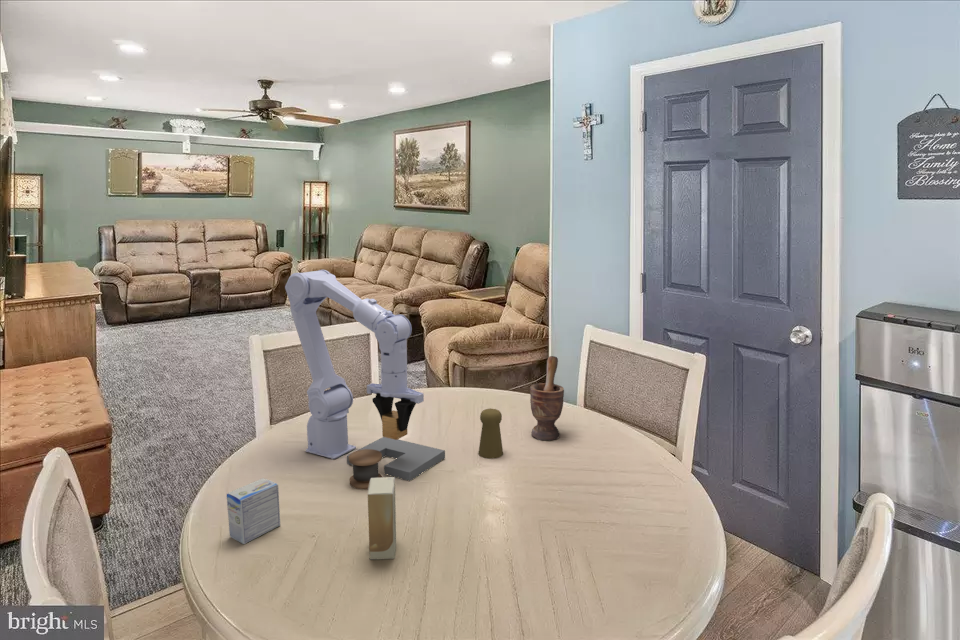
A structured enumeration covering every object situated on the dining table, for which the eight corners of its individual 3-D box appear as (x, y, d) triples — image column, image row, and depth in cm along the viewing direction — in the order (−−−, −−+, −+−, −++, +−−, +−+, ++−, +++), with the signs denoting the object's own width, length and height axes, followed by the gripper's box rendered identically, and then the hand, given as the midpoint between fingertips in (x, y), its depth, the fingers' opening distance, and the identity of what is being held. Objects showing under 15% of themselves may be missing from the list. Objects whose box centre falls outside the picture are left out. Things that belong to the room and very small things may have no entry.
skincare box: (372, 540, 107) (370, 476, 105) (396, 539, 108) (395, 475, 105) (368, 561, 101) (366, 493, 99) (394, 560, 101) (393, 492, 99)
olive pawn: (501, 459, 142) (501, 415, 140) (475, 457, 143) (476, 413, 141) (505, 449, 148) (505, 407, 146) (480, 447, 149) (481, 405, 147)
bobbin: (342, 484, 129) (341, 458, 128) (364, 472, 135) (363, 446, 134) (368, 491, 126) (367, 464, 124) (389, 479, 132) (388, 453, 130)
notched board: (346, 463, 139) (346, 455, 139) (385, 443, 151) (384, 436, 151) (409, 481, 131) (409, 472, 130) (444, 458, 143) (444, 450, 142)
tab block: (382, 436, 136) (382, 415, 135) (393, 430, 139) (393, 410, 138) (396, 440, 134) (396, 418, 133) (407, 434, 137) (407, 413, 136)
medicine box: (266, 519, 114) (263, 476, 113) (281, 526, 112) (278, 483, 110) (229, 537, 108) (225, 492, 106) (244, 545, 106) (240, 499, 104)
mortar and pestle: (526, 425, 164) (527, 354, 161) (558, 425, 165) (560, 354, 161) (531, 441, 153) (532, 365, 149) (565, 441, 153) (567, 365, 150)
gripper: (357, 369, 134) (358, 427, 136) (409, 379, 127) (410, 440, 129) (377, 362, 140) (378, 418, 142) (428, 371, 133) (429, 429, 135)
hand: (395, 428), depth 136 cm, fingers closed on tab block, 4 cm apart
